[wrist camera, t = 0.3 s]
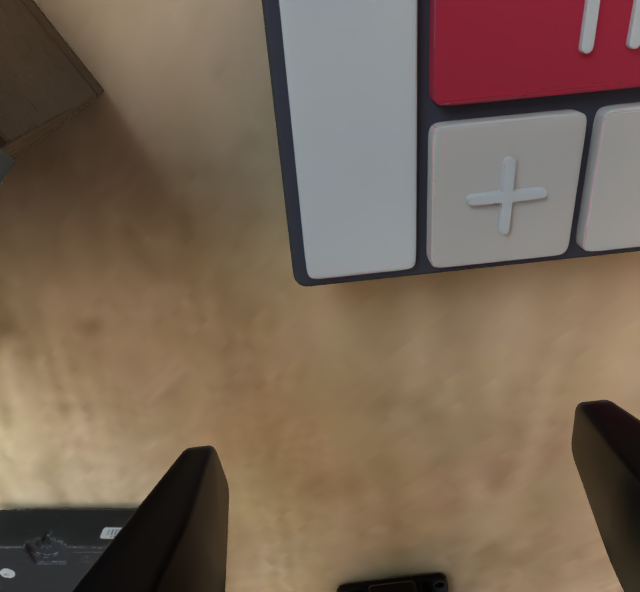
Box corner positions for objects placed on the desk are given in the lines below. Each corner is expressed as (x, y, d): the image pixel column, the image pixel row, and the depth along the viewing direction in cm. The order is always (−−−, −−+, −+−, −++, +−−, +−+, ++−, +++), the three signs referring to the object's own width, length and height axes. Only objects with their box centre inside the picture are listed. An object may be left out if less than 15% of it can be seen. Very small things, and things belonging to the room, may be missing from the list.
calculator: (732, 253, 19) (295, 300, 19) (656, 209, 23) (291, 248, 23) (855, -150, 14) (249, -98, 13) (731, -122, 18) (253, -80, 17)
